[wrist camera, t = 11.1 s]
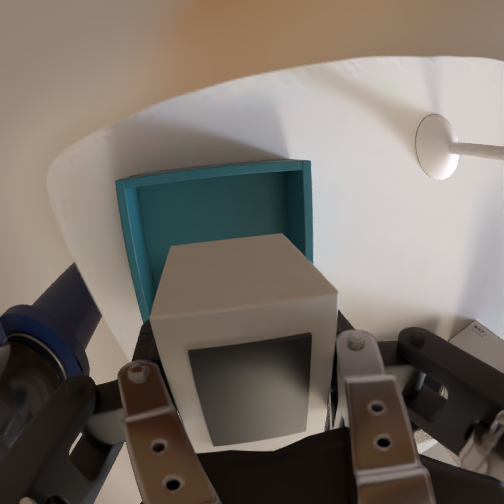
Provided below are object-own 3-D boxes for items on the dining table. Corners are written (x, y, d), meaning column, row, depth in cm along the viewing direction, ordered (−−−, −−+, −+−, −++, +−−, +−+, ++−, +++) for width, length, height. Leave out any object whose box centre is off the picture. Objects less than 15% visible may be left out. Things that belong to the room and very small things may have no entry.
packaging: (458, 421, 44) (506, 479, 25) (436, 437, 43) (482, 500, 25) (476, 319, 33) (568, 393, 14) (447, 341, 33) (540, 429, 14)
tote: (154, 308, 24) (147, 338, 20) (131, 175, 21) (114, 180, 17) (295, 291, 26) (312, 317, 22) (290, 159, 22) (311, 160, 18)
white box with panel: (193, 365, 13) (196, 463, 8) (170, 245, 12) (146, 320, 6) (286, 352, 14) (324, 441, 9) (282, 232, 12) (343, 293, 7)
